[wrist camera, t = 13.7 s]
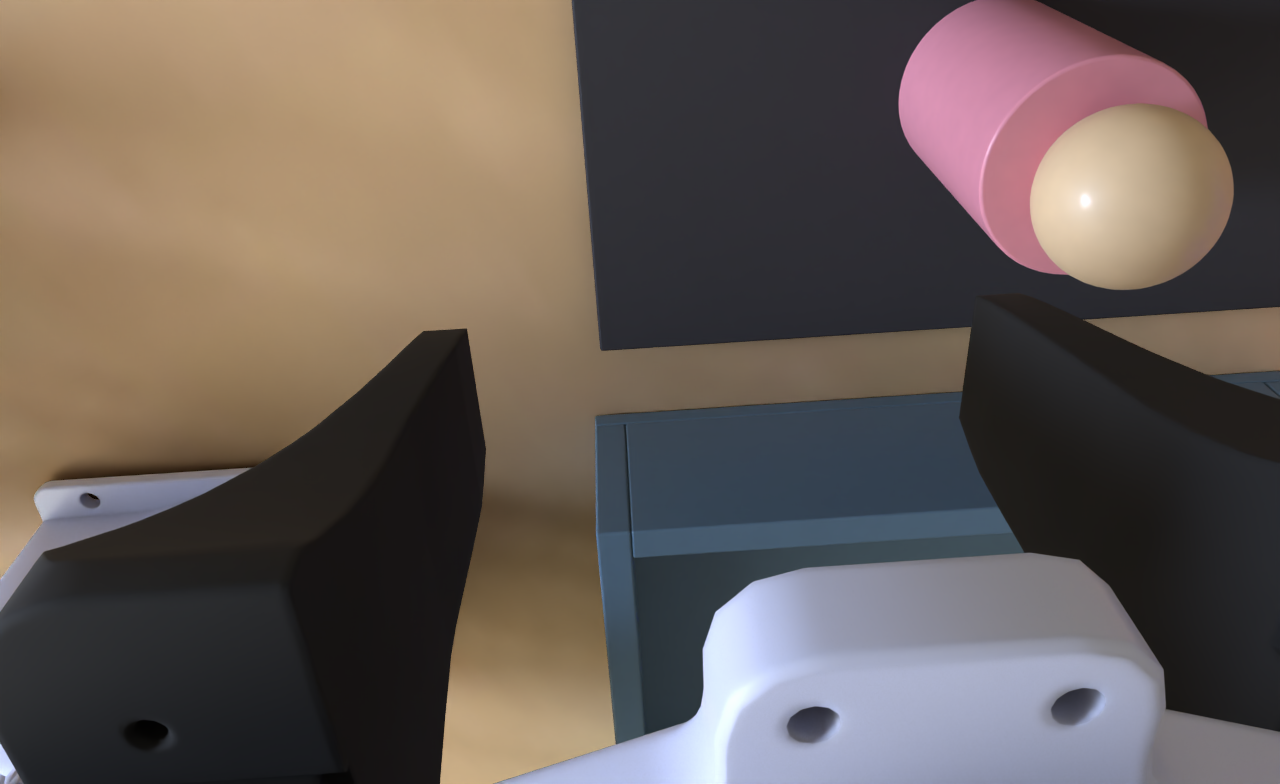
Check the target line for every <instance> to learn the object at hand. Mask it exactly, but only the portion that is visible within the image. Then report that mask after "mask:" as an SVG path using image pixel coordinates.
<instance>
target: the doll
mask: <svg viewBox="0 0 1280 784" xmlns="http://www.w3.org/2000/svg"><path fill="white" fill-rule="evenodd" d="M899 116H900V121H901V126H902V129H903V132H904V135H905V137H906V139H907V141H908V143H909V145H910V146H911V147H912V149H913V150H914V152H915V153H916V154H917V155H918V156H919V158H920V159H921V160H922V161H923V162H924V163H925V164H926V166H927V167H928V168H929V169H930V170H931V171H932V172H933V173H934V175H935V176H936V177H937V178H938V179H939V180H940V181H941V183H942V184H943V185H944V186H945V187H946V188H947V189H948V191H949V192H950V193H951V194H952V195H953V196H954V197H955V199H956V200H957V201H958V202H959V203H960V204H961V205H962V207H963V208H964V209H965V210H966V211H967V212H968V213H969V215H970V216H971V217H972V218H973V219H974V220H975V221H976V222H977V224H978V225H979V226H980V227H981V228H982V229H983V230H984V232H985V233H986V234H987V235H988V236H989V237H990V238H991V240H992V241H993V242H994V243H995V244H996V245H997V246H998V247H999V248H1000V249H1001V250H1002V251H1003V252H1004V253H1005V254H1006V255H1007V256H1008V257H1010V258H1011V259H1013V260H1014V261H1015V262H1017V263H1019V264H1021V265H1023V266H1025V267H1027V268H1030V269H1033V270H1036V271H1039V272H1045V273H1050V274H1064V275H1070V276H1072V277H1074V278H1076V279H1078V280H1080V281H1082V282H1084V283H1087V284H1090V285H1093V286H1096V287H1101V288H1106V289H1112V290H1132V289H1141V288H1147V287H1151V286H1154V285H1157V284H1161V283H1164V282H1166V281H1169V280H1171V279H1173V278H1175V277H1177V276H1179V275H1181V274H1183V273H1184V272H1186V271H1187V270H1189V269H1190V268H1192V267H1193V266H1194V265H1195V264H1197V263H1198V262H1199V261H1200V260H1201V259H1202V258H1203V257H1204V256H1205V255H1206V254H1207V253H1208V252H1209V251H1210V250H1211V248H1212V247H1213V246H1214V245H1215V243H1216V242H1217V240H1218V239H1219V237H1220V236H1221V234H1222V232H1223V230H1224V228H1225V226H1226V224H1227V221H1228V219H1229V215H1230V212H1231V208H1232V204H1233V196H1234V184H1233V175H1232V170H1231V166H1230V163H1229V160H1228V158H1227V155H1226V153H1225V151H1224V149H1223V148H1222V146H1221V144H1220V143H1219V141H1218V140H1217V139H1216V138H1215V136H1214V135H1213V134H1212V133H1211V132H1210V130H1208V126H1207V121H1206V116H1205V112H1204V109H1203V106H1202V103H1201V101H1200V99H1199V97H1198V95H1197V93H1196V92H1195V90H1194V88H1193V87H1192V86H1191V85H1190V83H1189V82H1188V81H1187V80H1186V79H1185V78H1184V77H1183V76H1182V75H1181V74H1180V73H1178V72H1177V71H1176V70H1175V69H1173V68H1171V67H1170V66H1168V65H1166V64H1165V63H1163V62H1161V61H1159V60H1157V59H1155V58H1153V57H1151V56H1149V55H1147V54H1145V53H1142V52H1140V51H1138V50H1136V49H1134V48H1132V47H1130V46H1128V45H1126V44H1124V43H1122V42H1120V41H1118V40H1116V39H1114V38H1112V37H1110V36H1108V35H1106V34H1104V33H1102V32H1100V31H1097V30H1095V29H1093V28H1091V27H1089V26H1087V25H1085V24H1083V23H1081V22H1079V21H1077V20H1075V19H1073V18H1071V17H1069V16H1067V15H1065V14H1063V13H1061V12H1059V11H1057V10H1055V9H1052V8H1050V7H1048V6H1046V5H1044V4H1042V3H1040V2H1038V1H1035V0H976V1H973V2H970V3H968V4H966V5H964V6H962V7H960V8H957V9H956V10H954V11H953V12H951V13H950V14H948V15H947V16H945V17H944V18H943V19H942V20H940V21H939V22H938V23H937V24H935V26H934V27H933V28H932V29H931V30H930V31H929V32H928V33H927V34H926V35H925V36H924V38H923V39H922V40H921V41H920V43H919V44H918V45H917V47H916V49H915V50H914V52H913V54H912V55H911V57H910V59H909V61H908V64H907V66H906V68H905V71H904V74H903V77H902V81H901V86H900V91H899Z"/></svg>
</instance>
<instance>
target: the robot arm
mask: <svg viewBox="0 0 1280 784" xmlns="http://www.w3.org/2000/svg"><path fill="white" fill-rule="evenodd" d="M959 419H960V422H961V425H962V428H963V431H964V434H965V436H966V439H967V442H968V445H969V448H970V450H971V453H972V456H973V458H974V461H975V463H976V466H977V468H978V471H979V473H980V475H981V477H982V479H983V481H984V482H985V484H986V486H987V488H988V490H989V492H990V493H991V495H992V497H993V499H994V500H995V502H996V504H997V506H998V508H999V509H1000V511H1001V513H1002V515H1003V516H1004V518H1005V520H1006V522H1007V523H1008V525H1009V527H1010V529H1011V530H1012V532H1013V534H1014V536H1015V537H1016V539H1017V541H1018V542H1019V544H1020V546H1021V548H1022V549H1023V551H1024V553H1019V554H1004V555H989V556H974V557H959V558H944V559H929V560H914V561H899V562H884V563H870V564H855V565H840V566H825V567H810V568H802V569H798V570H795V571H791V572H787V573H784V574H780V575H776V576H772V577H769V578H765V579H761V580H758V581H754V582H752V583H751V584H749V585H748V586H747V587H746V588H744V589H743V590H742V591H741V592H739V593H738V594H737V595H736V596H735V597H733V598H732V599H731V600H730V601H728V602H727V603H726V604H725V605H724V606H722V607H721V608H720V609H719V610H717V611H716V612H715V615H714V618H713V621H712V624H711V626H710V629H709V632H708V635H707V638H706V641H705V644H704V647H703V681H704V690H703V696H702V702H701V707H700V708H699V710H698V712H697V714H696V715H695V716H694V717H693V718H691V719H690V720H689V721H687V722H684V723H681V724H678V725H675V726H672V727H669V728H666V729H663V730H659V731H656V732H653V733H650V734H647V735H644V736H641V737H638V738H635V739H631V740H628V741H625V742H622V743H619V744H616V745H613V746H610V747H606V748H603V749H600V750H597V751H594V752H591V753H588V754H585V755H581V756H578V757H575V758H572V759H569V760H566V761H563V762H560V763H556V764H553V765H550V766H547V767H544V768H541V769H538V770H535V771H532V772H528V773H525V774H522V775H519V776H516V777H513V778H510V779H507V780H503V781H500V782H497V783H494V784H1280V399H1278V398H1275V397H1271V396H1268V395H1265V394H1262V393H1259V392H1256V391H1253V390H1250V389H1247V388H1244V387H1241V386H1237V385H1234V384H1231V383H1228V382H1225V381H1222V380H1220V379H1217V378H1214V377H1212V376H1209V375H1206V374H1203V373H1201V372H1198V371H1196V370H1193V369H1191V368H1189V367H1186V366H1184V365H1181V364H1179V363H1176V362H1174V361H1171V360H1169V359H1167V358H1164V357H1162V356H1159V355H1157V354H1155V353H1153V352H1150V351H1148V350H1146V349H1144V348H1141V347H1139V346H1137V345H1135V344H1133V343H1130V342H1128V341H1126V340H1124V339H1122V338H1120V337H1118V336H1115V335H1113V334H1111V333H1109V332H1107V331H1105V330H1103V329H1101V328H1099V327H1096V326H1094V325H1092V324H1090V323H1088V322H1086V321H1084V320H1082V319H1080V318H1078V317H1076V316H1074V315H1071V314H1069V313H1067V312H1065V311H1063V310H1061V309H1059V308H1056V307H1054V306H1052V305H1050V304H1048V303H1045V302H1043V301H1040V300H1038V299H1036V298H1033V297H1030V296H1027V295H1024V294H1021V293H1010V294H995V295H979V296H976V298H975V305H974V313H973V320H972V327H971V334H970V342H969V349H968V356H967V363H966V370H965V378H964V385H963V392H962V399H961V406H960V414H959ZM485 455H486V446H485V440H484V434H483V428H482V421H481V415H480V409H479V402H478V396H477V390H476V384H475V377H474V371H473V365H472V358H471V352H470V346H469V340H468V333H467V329H452V330H436V331H423V332H422V333H421V334H420V335H418V336H417V337H416V338H415V339H414V340H413V341H412V342H411V343H410V344H409V345H408V346H406V347H405V348H404V349H403V350H402V351H401V352H400V353H399V354H398V355H397V356H396V357H395V358H394V359H393V360H392V361H391V362H390V363H389V364H388V365H387V366H386V367H385V368H383V369H382V370H381V371H380V372H379V373H378V374H377V375H376V376H375V377H374V378H373V379H372V380H370V381H369V382H368V383H367V384H366V385H365V386H364V387H363V388H362V389H361V390H360V391H358V392H357V393H356V394H355V395H354V396H353V397H351V398H350V399H349V400H348V401H346V402H345V403H344V404H343V405H342V406H340V407H339V408H338V409H337V410H335V411H334V412H333V413H332V414H330V415H329V416H328V417H327V418H326V419H324V420H323V421H322V422H321V423H319V424H318V425H317V426H316V427H314V428H313V429H312V430H310V431H309V432H308V433H306V434H305V435H303V436H302V437H300V438H299V439H298V440H296V441H295V442H293V443H292V444H290V445H289V446H287V447H286V448H284V449H282V450H281V451H279V452H278V453H276V454H275V455H273V456H272V457H270V458H268V459H267V460H265V461H263V462H262V463H260V464H258V465H257V466H255V467H253V468H238V469H223V470H207V471H192V472H177V473H162V474H147V475H132V476H116V477H101V478H86V479H71V480H56V481H49V482H45V483H44V484H43V485H41V486H40V488H39V489H38V490H37V492H36V493H35V496H34V502H35V505H36V507H37V509H38V511H39V513H40V516H41V518H42V520H43V523H42V524H41V525H40V527H39V528H38V529H37V531H36V532H35V533H34V535H33V536H32V537H31V539H30V540H29V542H28V543H27V544H26V546H25V547H24V548H23V550H22V551H21V552H20V554H19V555H18V556H17V558H16V559H15V560H14V562H13V563H12V564H11V566H10V567H9V569H8V570H7V571H6V573H5V574H4V575H3V577H2V578H1V579H0V784H440V774H441V762H442V749H443V737H444V725H445V713H446V703H447V692H448V682H449V672H450V661H451V653H452V647H453V641H454V635H455V629H456V624H457V619H458V615H459V610H460V605H461V601H462V596H463V592H464V587H465V583H466V578H467V574H468V569H469V565H470V560H471V555H472V551H473V546H474V542H475V537H476V532H477V527H478V523H479V518H480V513H481V508H482V499H483V487H484V472H485ZM87 493H90V494H94V495H95V496H97V497H98V498H99V500H97V499H93V498H91V497H89V495H88V494H87Z"/></svg>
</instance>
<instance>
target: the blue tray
mask: <svg viewBox="0 0 1280 784" xmlns="http://www.w3.org/2000/svg"><path fill="white" fill-rule="evenodd" d="M1210 376H1212V377H1214V378H1217V379H1220V380H1222V381H1225V382H1228V383H1231V384H1234V385H1237V386H1241V387H1244V388H1247V389H1250V390H1253V391H1256V392H1259V393H1262V394H1265V395H1268V396H1271V397H1275V398H1278V399H1280V371H1271V372H1256V373H1241V374H1225V375H1210ZM961 399H962V392H951V393H936V394H921V395H905V396H890V397H875V398H860V399H844V400H829V401H814V402H799V403H783V404H768V405H753V406H738V407H722V408H707V409H692V410H677V411H661V412H646V413H631V414H616V415H600V416H596V417H595V463H596V540H597V550H598V561H599V572H600V582H601V593H602V603H603V614H604V624H605V635H606V645H607V656H608V667H609V677H610V688H611V698H612V709H613V719H614V730H615V741H616V744H619V743H622V742H625V741H628V740H631V739H635V738H638V737H641V736H644V735H647V734H650V733H653V732H656V731H659V730H663V729H666V728H669V727H672V726H675V725H678V724H681V723H684V722H687V721H689V720H690V719H691V718H693V717H694V716H695V715H696V714H697V712H698V710H699V708H700V707H701V702H702V696H703V690H704V681H703V647H704V644H705V641H706V638H707V635H708V632H709V629H710V626H711V624H712V621H713V618H714V615H715V612H716V611H717V610H719V609H720V608H721V607H722V606H724V605H725V604H726V603H727V602H728V601H730V600H731V599H732V598H733V597H735V596H736V595H737V594H738V593H739V592H741V591H742V590H743V589H744V588H746V587H747V586H748V585H749V584H751V583H752V582H754V581H758V580H761V579H765V578H769V577H772V576H776V575H780V574H784V573H787V572H791V571H795V570H798V569H802V568H810V567H825V566H840V565H855V564H870V563H884V562H899V561H914V560H929V559H944V558H959V557H974V556H989V555H1004V554H1019V553H1024V551H1023V549H1022V548H1021V546H1020V544H1019V542H1018V541H1017V539H1016V537H1015V536H1014V534H1013V532H1012V530H1011V529H1010V527H1009V525H1008V523H1007V522H1006V520H1005V518H1004V516H1003V515H1002V513H1001V511H1000V509H999V508H998V506H997V504H996V502H995V500H994V499H993V497H992V495H991V493H990V492H989V490H988V488H987V486H986V484H985V482H984V481H983V479H982V477H981V475H980V473H979V471H978V468H977V466H976V463H975V461H974V458H973V456H972V453H971V450H970V448H969V445H968V442H967V439H966V436H965V434H964V431H963V428H962V425H961V422H960V419H959V414H960V406H961Z"/></svg>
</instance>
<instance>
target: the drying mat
mask: <svg viewBox="0 0 1280 784" xmlns="http://www.w3.org/2000/svg"><path fill="white" fill-rule="evenodd" d="M973 1H976V0H572V9H573V21H574V33H575V45H576V58H577V70H578V82H579V94H580V107H581V119H582V131H583V143H584V156H585V168H586V180H587V193H588V205H589V217H590V229H591V242H592V254H593V266H594V278H595V291H596V303H597V315H598V327H599V340H600V349H601V350H602V351H606V350H622V349H637V348H652V347H668V346H683V345H699V344H714V343H729V342H745V341H760V340H776V339H791V338H806V337H822V336H837V335H852V334H868V333H883V332H899V331H914V330H929V329H945V328H960V327H972V320H973V313H974V305H975V298H976V296H979V295H995V294H1010V293H1021V294H1024V295H1027V296H1030V297H1033V298H1036V299H1038V300H1040V301H1043V302H1045V303H1048V304H1050V305H1052V306H1054V307H1056V308H1059V309H1061V310H1063V311H1065V312H1067V313H1069V314H1071V315H1074V316H1076V317H1078V318H1080V319H1082V320H1083V319H1099V318H1114V317H1130V316H1145V315H1160V314H1176V313H1191V312H1206V311H1222V310H1237V309H1253V308H1268V307H1280V0H1035V1H1038V2H1040V3H1042V4H1044V5H1046V6H1048V7H1050V8H1052V9H1055V10H1057V11H1059V12H1061V13H1063V14H1065V15H1067V16H1069V17H1071V18H1073V19H1075V20H1077V21H1079V22H1081V23H1083V24H1085V25H1087V26H1089V27H1091V28H1093V29H1095V30H1097V31H1100V32H1102V33H1104V34H1106V35H1108V36H1110V37H1112V38H1114V39H1116V40H1118V41H1120V42H1122V43H1124V44H1126V45H1128V46H1130V47H1132V48H1134V49H1136V50H1138V51H1140V52H1142V53H1145V54H1147V55H1149V56H1151V57H1153V58H1155V59H1157V60H1159V61H1161V62H1163V63H1165V64H1166V65H1168V66H1170V67H1171V68H1173V69H1175V70H1176V71H1177V72H1178V73H1180V74H1181V75H1182V76H1183V77H1184V78H1185V79H1186V80H1187V81H1188V82H1189V83H1190V85H1191V86H1192V87H1193V88H1194V90H1195V92H1196V93H1197V95H1198V97H1199V99H1200V101H1201V103H1202V106H1203V109H1204V112H1205V116H1206V121H1207V126H1208V130H1210V132H1211V133H1212V134H1213V135H1214V136H1215V138H1216V139H1217V140H1218V141H1219V143H1220V144H1221V146H1222V148H1223V149H1224V151H1225V153H1226V155H1227V158H1228V160H1229V163H1230V166H1231V170H1232V175H1233V184H1234V196H1233V204H1232V208H1231V212H1230V215H1229V219H1228V221H1227V224H1226V226H1225V228H1224V230H1223V232H1222V234H1221V236H1220V237H1219V239H1218V240H1217V242H1216V243H1215V245H1214V246H1213V247H1212V248H1211V250H1210V251H1209V252H1208V253H1207V254H1206V255H1205V256H1204V257H1203V258H1202V259H1201V260H1200V261H1199V262H1198V263H1197V264H1195V265H1194V266H1193V267H1192V268H1190V269H1189V270H1187V271H1186V272H1184V273H1183V274H1181V275H1179V276H1177V277H1175V278H1173V279H1171V280H1169V281H1166V282H1164V283H1161V284H1157V285H1154V286H1151V287H1147V288H1141V289H1132V290H1112V289H1106V288H1101V287H1096V286H1093V285H1090V284H1087V283H1084V282H1082V281H1080V280H1078V279H1076V278H1074V277H1072V276H1070V275H1064V274H1050V273H1045V272H1039V271H1036V270H1033V269H1030V268H1027V267H1025V266H1023V265H1021V264H1019V263H1017V262H1015V261H1014V260H1013V259H1011V258H1010V257H1008V256H1007V255H1006V254H1005V253H1004V252H1003V251H1002V250H1001V249H1000V248H999V247H998V246H997V245H996V244H995V243H994V242H993V241H992V240H991V238H990V237H989V236H988V235H987V234H986V233H985V232H984V230H983V229H982V228H981V227H980V226H979V225H978V224H977V222H976V221H975V220H974V219H973V218H972V217H971V216H970V215H969V213H968V212H967V211H966V210H965V209H964V208H963V207H962V205H961V204H960V203H959V202H958V201H957V200H956V199H955V197H954V196H953V195H952V194H951V193H950V192H949V191H948V189H947V188H946V187H945V186H944V185H943V184H942V183H941V181H940V180H939V179H938V178H937V177H936V176H935V175H934V173H933V172H932V171H931V170H930V169H929V168H928V167H927V166H926V164H925V163H924V162H923V161H922V160H921V159H920V158H919V156H918V155H917V154H916V153H915V152H914V150H913V149H912V147H911V146H910V145H909V143H908V141H907V139H906V137H905V135H904V132H903V129H902V126H901V121H900V116H899V91H900V86H901V81H902V77H903V74H904V71H905V68H906V66H907V64H908V61H909V59H910V57H911V55H912V54H913V52H914V50H915V49H916V47H917V45H918V44H919V43H920V41H921V40H922V39H923V38H924V36H925V35H926V34H927V33H928V32H929V31H930V30H931V29H932V28H933V27H934V26H935V24H937V23H938V22H939V21H940V20H942V19H943V18H944V17H945V16H947V15H948V14H950V13H951V12H953V11H954V10H956V9H957V8H960V7H962V6H964V5H966V4H968V3H970V2H973Z"/></svg>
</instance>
